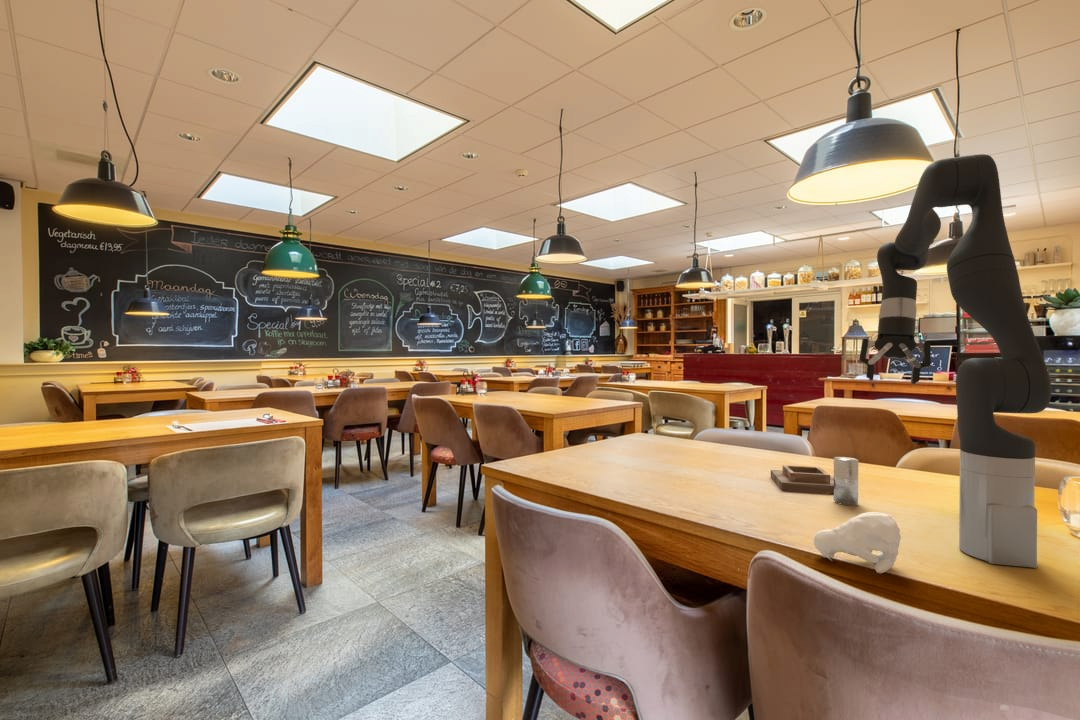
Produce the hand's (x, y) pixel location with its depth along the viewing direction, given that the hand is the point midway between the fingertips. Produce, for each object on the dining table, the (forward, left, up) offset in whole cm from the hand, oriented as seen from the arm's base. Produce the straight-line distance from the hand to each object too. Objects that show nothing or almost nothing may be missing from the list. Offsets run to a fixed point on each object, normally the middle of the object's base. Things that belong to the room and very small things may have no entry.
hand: (891, 382), depth 121 cm
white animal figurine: (-50, +24, -27) cm, 62 cm away
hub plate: (+1, +19, -27) cm, 33 cm away
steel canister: (-13, +14, -27) cm, 33 cm away
